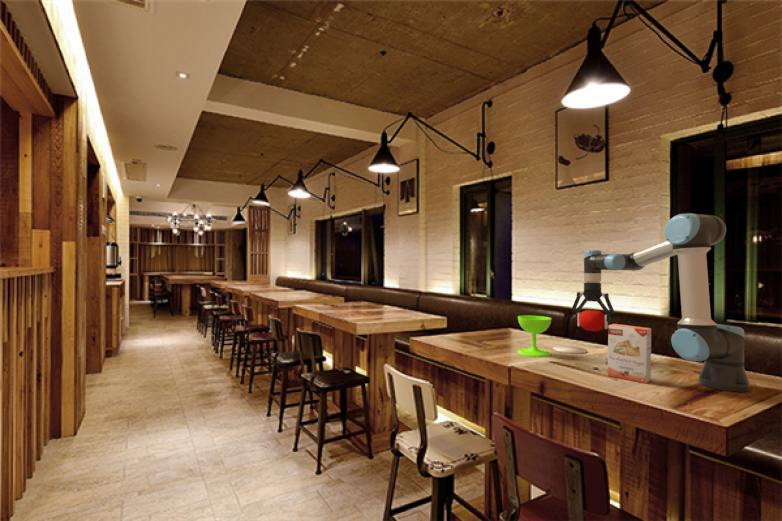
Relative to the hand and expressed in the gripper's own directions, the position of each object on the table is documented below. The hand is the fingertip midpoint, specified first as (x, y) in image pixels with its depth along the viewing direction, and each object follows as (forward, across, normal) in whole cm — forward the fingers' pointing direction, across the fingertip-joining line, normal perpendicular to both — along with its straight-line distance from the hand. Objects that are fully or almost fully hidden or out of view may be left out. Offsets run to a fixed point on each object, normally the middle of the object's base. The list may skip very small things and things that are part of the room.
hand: (592, 327), depth 199 cm
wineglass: (+15, +24, +11) cm, 30 cm away
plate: (+14, +13, -9) cm, 22 cm away
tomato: (+2, 0, 0) cm, 2 cm away
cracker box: (+15, -21, +29) cm, 39 cm away
